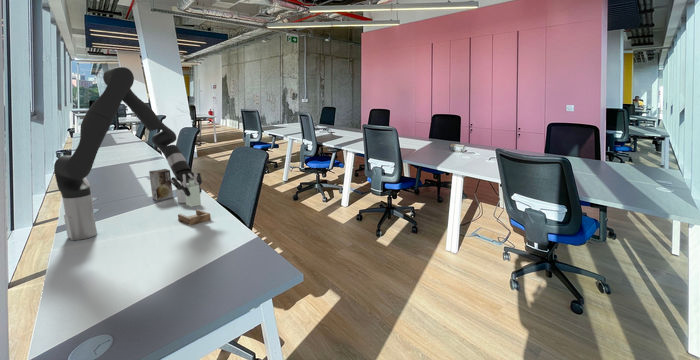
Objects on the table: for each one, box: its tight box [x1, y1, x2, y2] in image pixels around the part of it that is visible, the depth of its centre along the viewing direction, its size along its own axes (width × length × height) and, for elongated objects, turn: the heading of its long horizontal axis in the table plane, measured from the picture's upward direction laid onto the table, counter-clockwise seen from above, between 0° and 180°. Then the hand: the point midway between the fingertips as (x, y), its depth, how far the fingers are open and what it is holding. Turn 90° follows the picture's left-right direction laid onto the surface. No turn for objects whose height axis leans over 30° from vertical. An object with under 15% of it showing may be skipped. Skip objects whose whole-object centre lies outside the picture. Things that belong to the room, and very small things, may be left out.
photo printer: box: [176, 181, 189, 204], centre depth 196 cm, size 10×4×12 cm, turn 82°
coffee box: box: [148, 168, 174, 202], centre depth 204 cm, size 9×6×16 cm
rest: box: [177, 209, 212, 226], centre depth 168 cm, size 10×11×3 cm
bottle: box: [185, 177, 202, 207], centre depth 165 cm, size 5×5×12 cm
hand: (194, 194), depth 165 cm, fingers closed on bottle, 4 cm apart
